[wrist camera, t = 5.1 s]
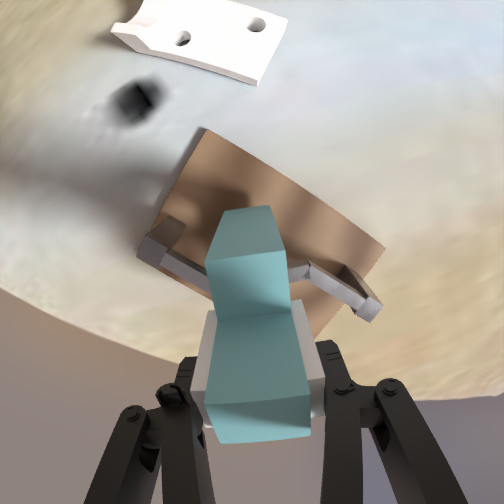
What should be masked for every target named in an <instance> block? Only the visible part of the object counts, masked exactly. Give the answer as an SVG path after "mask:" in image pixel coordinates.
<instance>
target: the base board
mask: <svg viewBox="0 0 504 504" xmlns="http://www.w3.org/2000/svg"><path fill="white" fill-rule="evenodd" d="M263 205H270V208H271V210H272V213H273V216H274V219H275V222H276V224H277V227H278V230H279V233H280V236H281V239H282V242H283V245H284V248H285V251H286V260H287V263H289V262H294V261H298V260H303V259H306V260H307V261H308V260H310V261H311V262H313V263H314V264H316V265H318V266H319V267H321V268H322V269H324V270H326V271H327V272H329V273H330V274H332V275H333V276H335V277H336V276H337V275H338V273H339V272H340V271H341V269H342V268H343V267H344V265H347V266H348V267H349V268H351V269H352V270H354V271H355V272H357V273H358V274H359V275H360V276H361V277H362V279H364V278H365V277H366V275H367V274H368V273H369V271H370V270H371V269H372V267H373V266H374V265H375V263H376V262H377V260H378V259H379V258H380V256H381V255H382V254H383V252H384V251H385V249H386V248H385V247H383V246H382V245H381V244H380V243H378V242H377V241H376V240H374V239H373V238H372V237H371V236H369V235H368V234H367V233H365V232H364V231H363V230H361V229H360V228H359V227H357V226H356V225H355V224H353V223H352V222H351V221H349V220H348V219H347V218H345V217H344V216H342V215H341V214H340V213H338V212H337V211H335V210H334V209H333V208H331V207H330V206H328V205H327V204H326V203H324V202H323V201H321V200H320V199H318V198H317V197H316V196H314V195H313V194H311V193H310V192H308V191H307V190H305V189H304V188H302V187H301V186H299V185H298V184H296V183H295V182H293V181H292V180H290V179H289V178H287V177H286V176H284V175H283V174H281V173H280V172H278V171H276V170H275V169H273V168H272V167H270V166H269V165H267V164H265V163H264V162H262V161H261V160H259V159H257V158H256V157H254V156H253V155H251V154H249V153H248V152H246V151H244V150H243V149H241V148H239V147H238V146H236V145H234V144H233V143H231V142H229V141H228V140H226V139H224V138H222V137H221V136H219V135H217V134H215V133H214V132H212V131H210V130H208V129H207V130H206V132H205V134H204V135H203V137H202V138H201V140H200V142H199V143H198V145H197V147H196V148H195V150H194V152H193V153H192V155H191V157H190V158H189V160H188V162H187V164H186V165H185V167H184V169H183V170H182V172H181V174H180V176H179V178H178V179H177V181H176V183H175V185H174V187H173V188H172V190H171V192H170V194H169V196H168V198H167V200H166V201H165V203H164V205H163V207H162V209H161V211H160V213H159V215H158V217H157V219H156V221H155V223H154V225H153V227H152V229H154V228H155V227H156V226H157V225H158V224H159V223H160V222H162V221H163V220H164V219H165V218H166V217H167V216H169V215H171V216H173V217H175V218H176V219H178V220H180V221H181V222H183V223H185V224H187V225H186V227H185V229H184V231H183V232H182V234H181V236H180V238H179V240H178V241H177V243H176V244H175V245H174V247H173V248H172V249H173V250H175V251H176V252H178V253H180V254H182V255H183V256H185V257H187V258H188V259H190V260H192V261H194V262H195V263H197V264H199V265H200V266H202V267H204V268H206V267H205V262H204V260H205V258H206V255H207V253H208V250H209V248H210V245H211V243H212V240H213V238H214V235H215V233H216V230H217V228H218V225H219V223H220V220H221V218H222V216H223V213H224V211H227V210H234V209H241V208H248V207H255V206H263ZM152 229H151V230H152ZM139 259H140V258H139ZM140 260H141V259H140ZM142 261H143V260H142ZM144 262H145V261H144ZM145 263H146V262H145ZM147 264H148V263H147ZM149 265H150V264H149ZM150 266H151V265H150ZM152 267H153V266H152ZM154 268H155V267H154ZM157 270H159V271H161V272H162V273H164V274H166V275H167V276H169V277H171V278H173V279H174V280H176V281H178V282H180V283H181V284H183V285H185V286H187V287H188V288H190V289H192V290H194V291H196V292H197V293H199V294H201V295H203V296H205V297H206V298H208V299H210V300H212V301H213V299H212V295H211V294H209V293H207V292H206V291H204V290H202V289H200V288H198V287H197V286H195V285H193V284H191V283H190V282H188V281H186V280H184V279H183V278H181V277H179V276H177V275H176V274H174V273H172V272H170V271H169V270H167V269H165V268H164V267H162V266H159V267H158V269H157ZM289 290H290V301H292V300H299V299H301V300H302V303H303V306H304V309H305V312H306V315H307V319H308V322H309V325H310V328H311V331H312V335H313V338H314V339H315V337H316V336H317V335H318V334H319V333H320V332H321V331H322V329H323V328H324V327H325V326H326V325H327V324H328V322H329V321H330V320H331V319H332V318H333V317H334V315H335V314H336V313H337V312H338V311H339V309H340V308H341V307H342V306H343V304H344V302H342V301H341V300H339V299H337V298H335V297H334V296H332V295H330V294H329V293H327V292H325V291H324V290H322V289H320V288H319V287H317V286H315V285H314V284H312V283H310V282H309V281H307V280H302V281H297V282H293V283H289Z"/></svg>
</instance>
